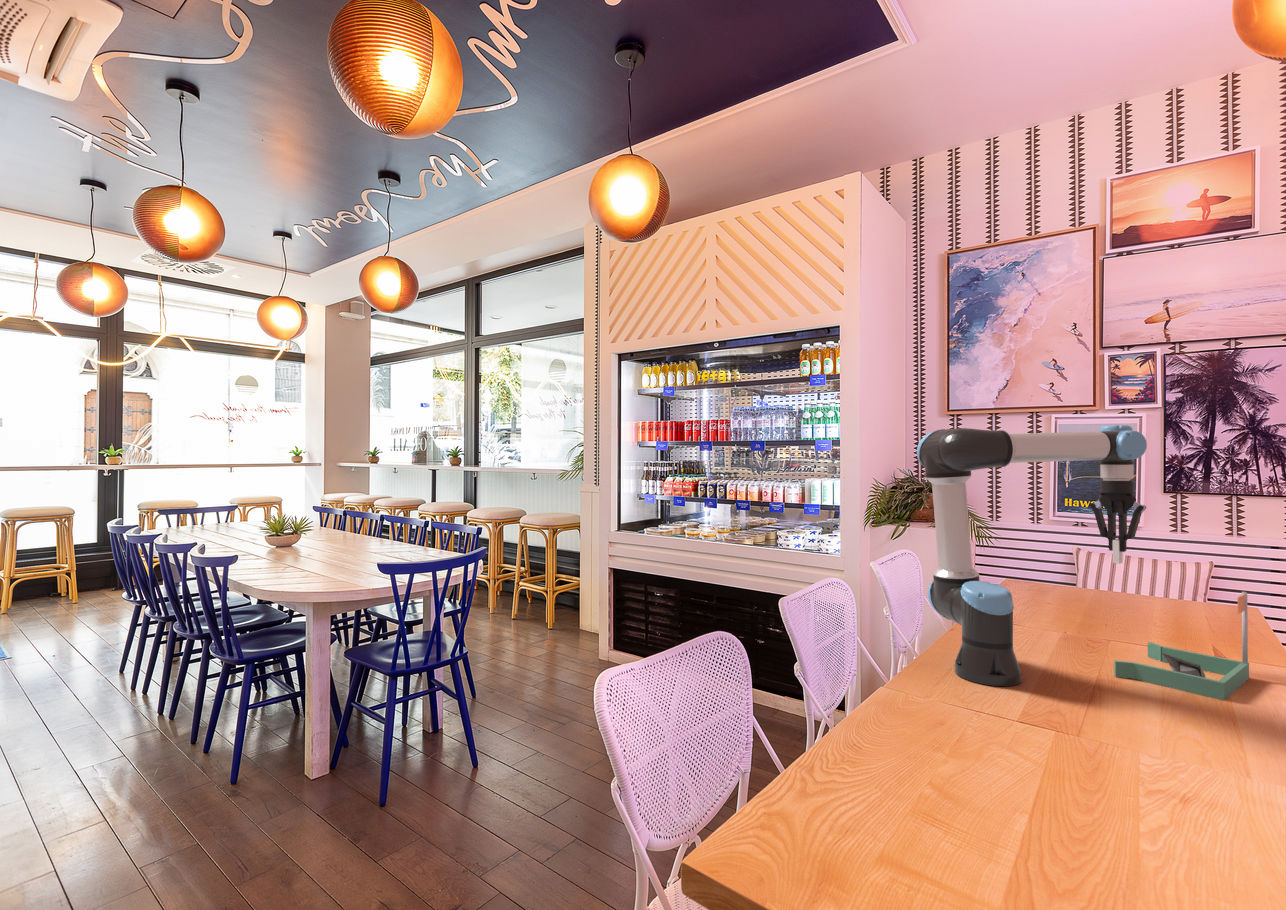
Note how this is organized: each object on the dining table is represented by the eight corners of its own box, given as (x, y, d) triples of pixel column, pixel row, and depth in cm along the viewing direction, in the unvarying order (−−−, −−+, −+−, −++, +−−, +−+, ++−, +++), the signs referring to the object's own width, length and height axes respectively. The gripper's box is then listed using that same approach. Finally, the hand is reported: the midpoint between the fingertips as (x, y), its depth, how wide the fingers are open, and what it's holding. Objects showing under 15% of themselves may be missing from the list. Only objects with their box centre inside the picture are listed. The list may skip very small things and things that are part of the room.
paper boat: (1230, 687, 148) (1205, 682, 146) (1209, 704, 151) (1184, 699, 149) (1187, 648, 159) (1163, 642, 156) (1168, 664, 162) (1144, 659, 159)
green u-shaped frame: (1112, 676, 160) (1112, 591, 160) (1148, 655, 175) (1148, 578, 175) (1221, 702, 143) (1220, 607, 143) (1250, 677, 158) (1250, 591, 158)
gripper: (1150, 479, 173) (1150, 564, 173) (1095, 478, 183) (1095, 558, 183) (1140, 480, 168) (1141, 567, 168) (1084, 479, 179) (1085, 561, 179)
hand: (1117, 562), depth 176 cm, fingers closed
